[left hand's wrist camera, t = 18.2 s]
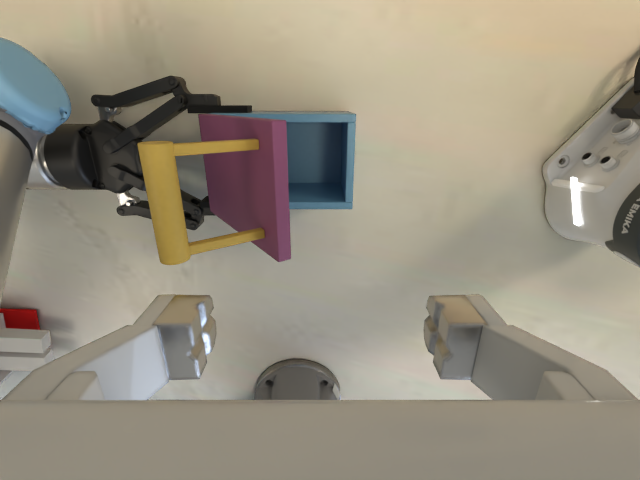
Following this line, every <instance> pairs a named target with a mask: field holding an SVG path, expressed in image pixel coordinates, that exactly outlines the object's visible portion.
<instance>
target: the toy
mask: <svg viewBox="0 0 640 480" xmlns="http://www.w3.org/2000/svg"><path fill="white" fill-rule="evenodd" d="M50 345H51V338H50V331H49V330H40V326H39V321H38V316H37V310H33V309H0V385H1V384H2V383H3V382H4V381H5V380H6V379H7V378H8V377H9V376H10V375H11V374H12V371H11V370H14V371H33V370H34V369H36V368H39V367H41V366H43V365H45V364H47V363H49V362H51V361H53V352H52V349H47V348H48V347H49V346H50Z"/></svg>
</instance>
